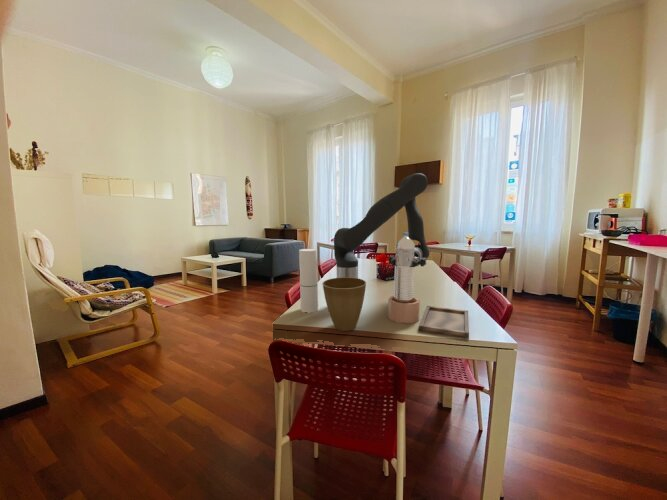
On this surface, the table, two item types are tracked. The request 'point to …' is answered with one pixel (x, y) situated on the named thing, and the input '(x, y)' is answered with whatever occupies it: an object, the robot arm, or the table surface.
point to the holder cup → (403, 310)
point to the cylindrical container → (308, 280)
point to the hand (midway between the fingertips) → (403, 263)
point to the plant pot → (344, 301)
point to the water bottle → (404, 269)
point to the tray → (445, 322)
